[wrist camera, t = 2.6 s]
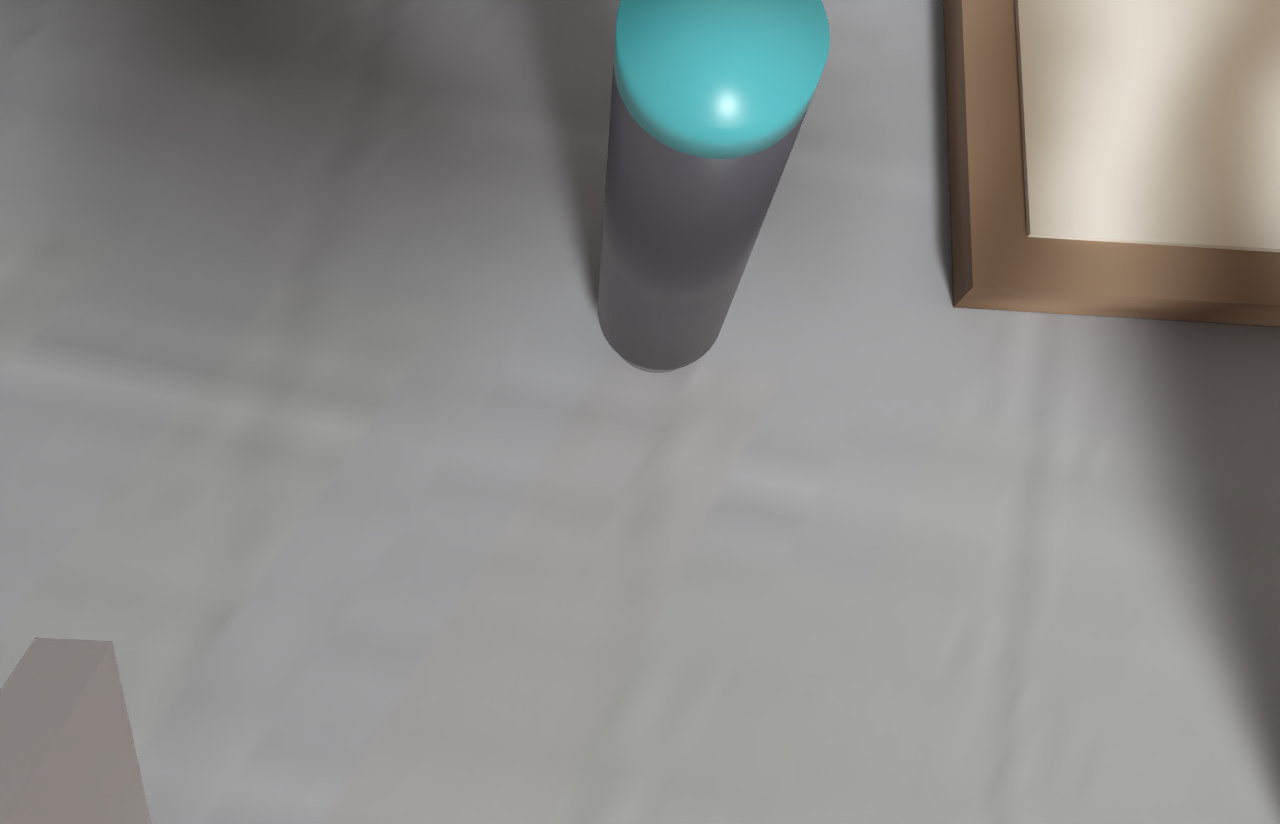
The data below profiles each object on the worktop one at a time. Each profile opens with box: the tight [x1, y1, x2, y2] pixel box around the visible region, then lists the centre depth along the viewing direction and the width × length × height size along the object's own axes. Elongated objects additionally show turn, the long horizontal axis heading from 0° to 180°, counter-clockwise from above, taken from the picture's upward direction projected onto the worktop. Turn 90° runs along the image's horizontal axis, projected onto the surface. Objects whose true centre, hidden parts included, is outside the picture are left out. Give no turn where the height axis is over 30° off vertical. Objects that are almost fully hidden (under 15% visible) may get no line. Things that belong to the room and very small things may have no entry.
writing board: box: [943, 0, 1280, 327], centre depth 32 cm, size 16×16×2 cm
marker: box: [598, 0, 830, 373], centre depth 23 cm, size 3×3×13 cm
